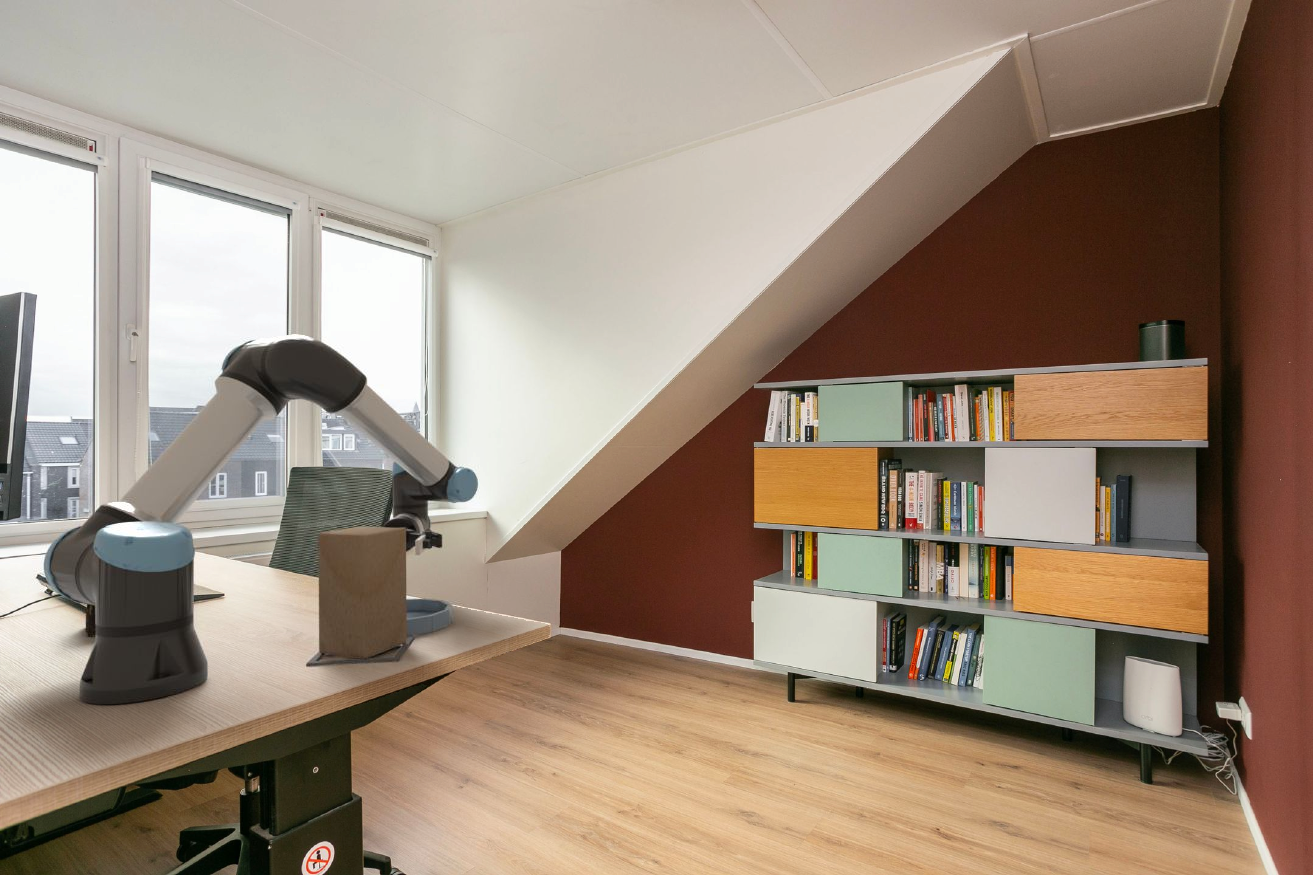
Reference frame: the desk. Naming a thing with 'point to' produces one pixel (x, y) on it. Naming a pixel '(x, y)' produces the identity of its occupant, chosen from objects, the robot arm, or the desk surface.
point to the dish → (427, 615)
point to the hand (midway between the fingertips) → (378, 549)
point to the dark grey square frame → (397, 657)
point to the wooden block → (362, 591)
